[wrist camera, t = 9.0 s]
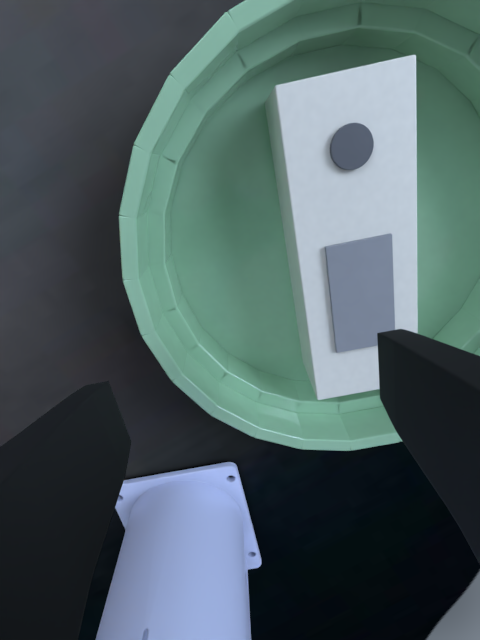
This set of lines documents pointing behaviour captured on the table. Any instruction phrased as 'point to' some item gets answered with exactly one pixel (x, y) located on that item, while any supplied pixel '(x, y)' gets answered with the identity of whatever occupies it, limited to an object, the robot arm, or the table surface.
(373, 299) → the remote
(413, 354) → the robot arm
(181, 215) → the bowl
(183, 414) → the table surface
